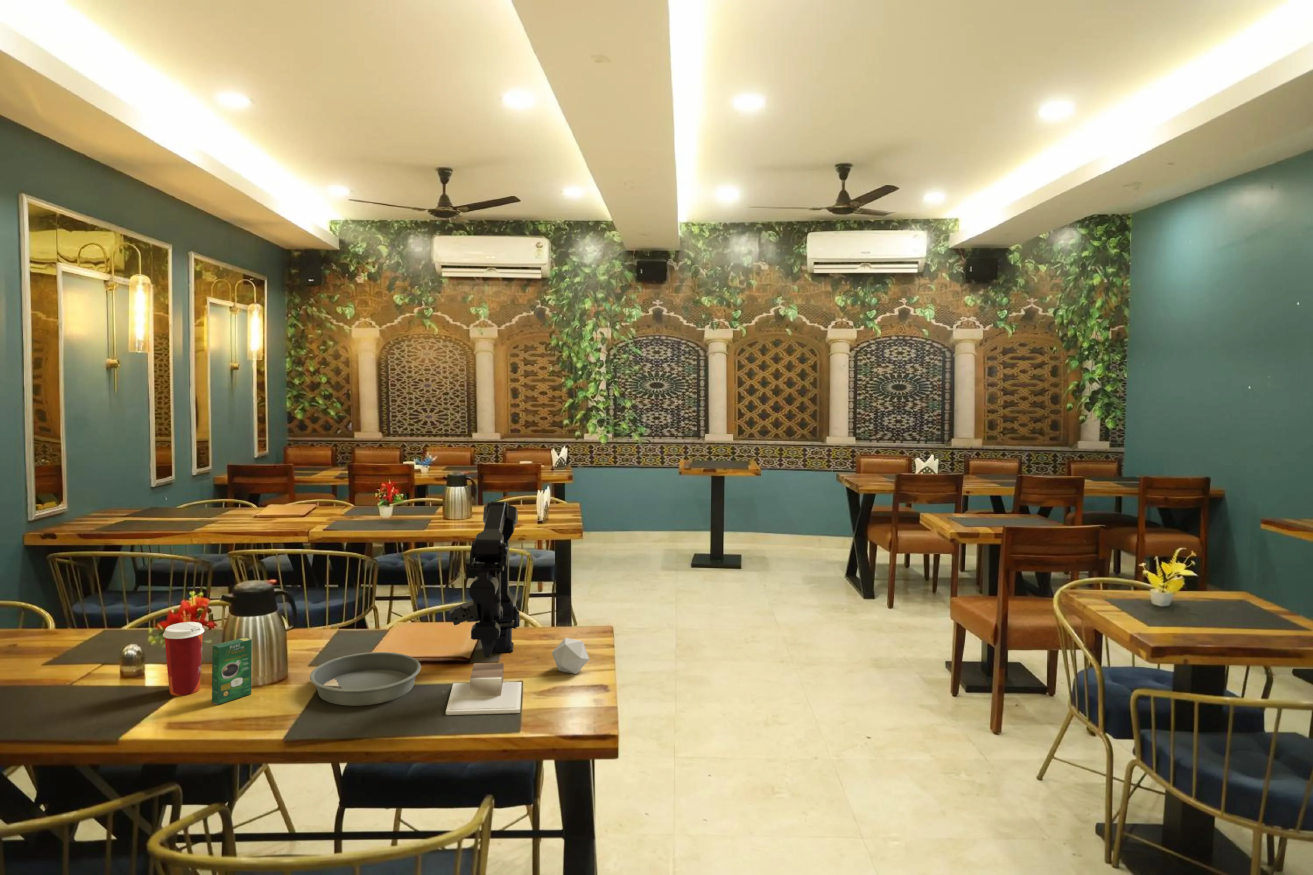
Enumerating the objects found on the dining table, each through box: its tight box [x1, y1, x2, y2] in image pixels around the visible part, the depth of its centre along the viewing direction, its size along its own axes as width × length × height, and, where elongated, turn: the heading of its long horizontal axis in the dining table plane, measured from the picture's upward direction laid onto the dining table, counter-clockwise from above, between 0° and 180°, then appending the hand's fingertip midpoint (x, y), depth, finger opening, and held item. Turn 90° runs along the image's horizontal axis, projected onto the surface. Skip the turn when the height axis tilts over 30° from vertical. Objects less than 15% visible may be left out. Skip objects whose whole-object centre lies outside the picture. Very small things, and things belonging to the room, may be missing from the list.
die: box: [551, 637, 590, 675], centre depth 211 cm, size 8×9×10 cm
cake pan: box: [309, 651, 422, 706], centre depth 196 cm, size 25×25×4 cm
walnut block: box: [469, 662, 505, 696], centre depth 196 cm, size 4×7×10 cm
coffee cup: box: [162, 621, 205, 697], centre depth 190 cm, size 8×8×15 cm
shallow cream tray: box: [445, 681, 523, 716], centre depth 191 cm, size 16×16×1 cm
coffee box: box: [211, 636, 253, 705], centre depth 187 cm, size 8×3×13 cm, turn 147°
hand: (487, 657), depth 195 cm, fingers closed
